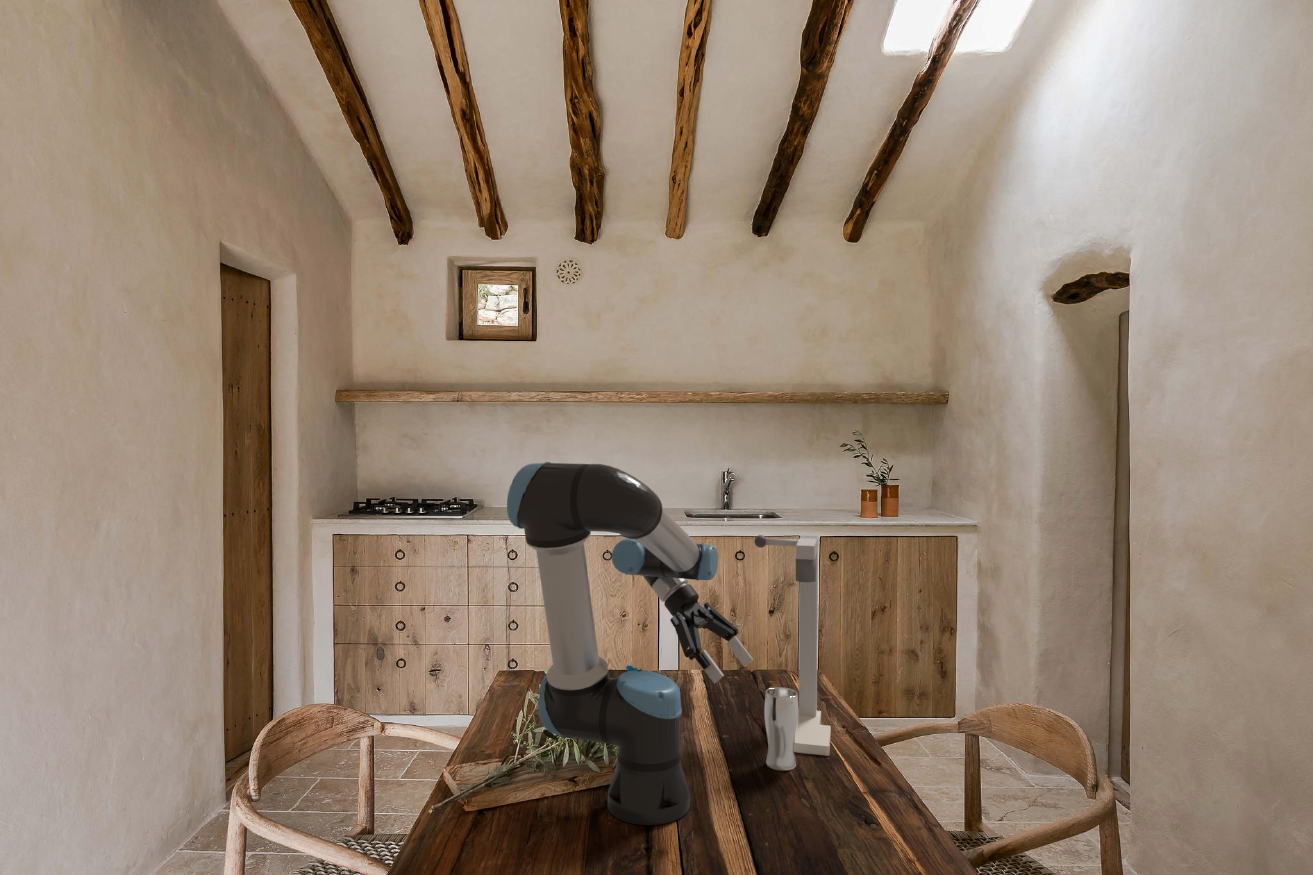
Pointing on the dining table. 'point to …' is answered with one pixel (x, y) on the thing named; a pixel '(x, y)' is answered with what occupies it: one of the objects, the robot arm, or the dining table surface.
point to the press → (806, 645)
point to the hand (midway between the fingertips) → (734, 671)
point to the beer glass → (781, 727)
